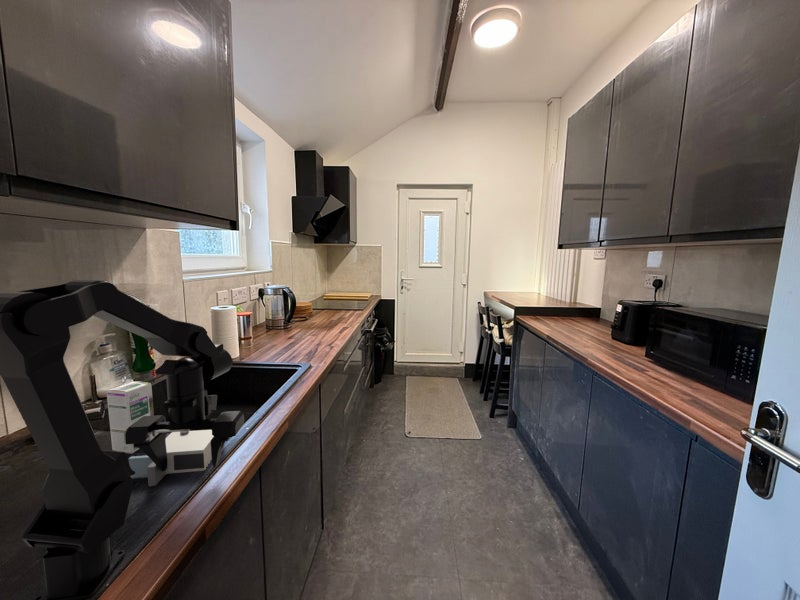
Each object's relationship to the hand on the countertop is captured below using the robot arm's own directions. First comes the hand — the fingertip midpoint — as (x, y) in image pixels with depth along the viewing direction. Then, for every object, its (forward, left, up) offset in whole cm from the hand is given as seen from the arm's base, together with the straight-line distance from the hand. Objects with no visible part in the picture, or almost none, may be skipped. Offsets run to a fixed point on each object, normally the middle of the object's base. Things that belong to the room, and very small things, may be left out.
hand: (190, 468), depth 61 cm
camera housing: (+8, +4, -3) cm, 10 cm away
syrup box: (+15, +19, -3) cm, 24 cm away
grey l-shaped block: (+1, +9, -2) cm, 9 cm away
